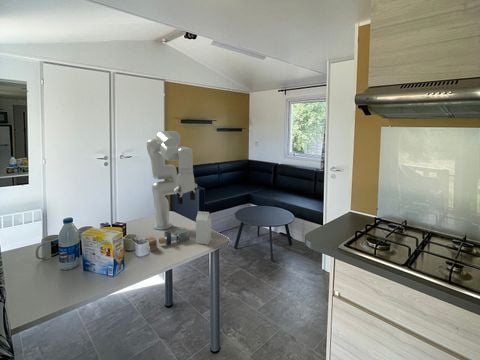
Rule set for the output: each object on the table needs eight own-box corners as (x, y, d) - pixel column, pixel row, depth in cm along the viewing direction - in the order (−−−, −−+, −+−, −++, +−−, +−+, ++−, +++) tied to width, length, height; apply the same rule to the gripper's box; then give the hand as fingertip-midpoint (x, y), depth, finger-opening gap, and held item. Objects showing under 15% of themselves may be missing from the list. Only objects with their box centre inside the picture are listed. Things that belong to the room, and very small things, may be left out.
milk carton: (207, 244, 164) (207, 214, 160) (196, 243, 165) (195, 213, 161) (211, 239, 170) (211, 210, 167) (200, 238, 172) (199, 209, 168)
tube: (158, 244, 162) (158, 233, 160) (185, 237, 172) (185, 227, 171) (161, 246, 159) (160, 235, 158) (187, 239, 169) (187, 229, 168)
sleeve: (174, 240, 169) (174, 231, 168) (185, 237, 173) (185, 228, 172) (178, 243, 165) (178, 234, 164) (189, 240, 169) (189, 231, 168)
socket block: (146, 247, 159) (145, 237, 158) (152, 245, 161) (152, 235, 160) (149, 251, 154) (149, 241, 153) (156, 249, 156) (156, 239, 155)
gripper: (191, 168, 157) (192, 197, 161) (168, 172, 143) (169, 204, 146) (201, 169, 153) (202, 199, 157) (179, 174, 139) (180, 206, 142)
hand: (186, 201), depth 152 cm, fingers open, 9 cm apart
